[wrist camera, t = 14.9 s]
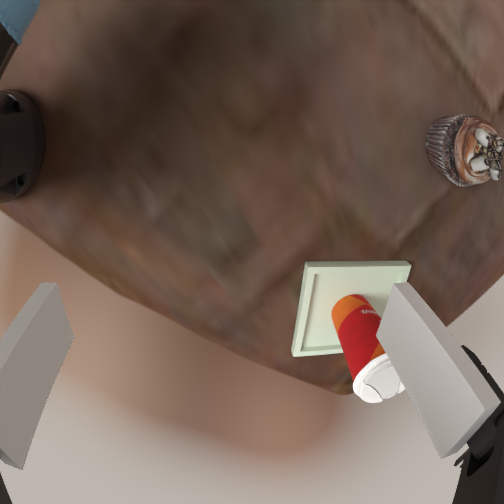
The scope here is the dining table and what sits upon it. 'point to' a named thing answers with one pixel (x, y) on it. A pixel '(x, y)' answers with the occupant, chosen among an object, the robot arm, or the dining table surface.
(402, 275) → the tray
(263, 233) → the dining table surface
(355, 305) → the coffee cup
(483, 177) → the cupcake
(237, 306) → the dining table surface
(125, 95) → the dining table surface
